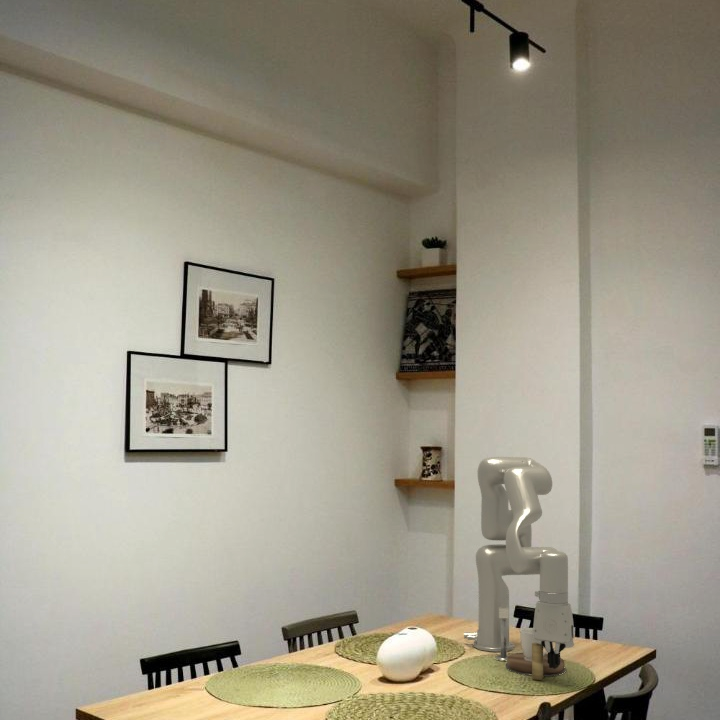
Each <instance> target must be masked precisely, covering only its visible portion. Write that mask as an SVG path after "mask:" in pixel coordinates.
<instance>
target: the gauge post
mask: <svg viewBox="0 0 720 720" xmlns="http://www.w3.org/2000/svg"><path fill="white" fill-rule="evenodd" d="M499 618H501V652H500V654H497V655H495V656H494V659H495V658H496V659H498V660H507V657H508V656H509V655H508V653H507V652H508V651H507V618H508V619H509V620H510V607H509V608H508V607H499ZM496 659H495V660H496ZM498 660H497V661H498Z"/></svg>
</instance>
